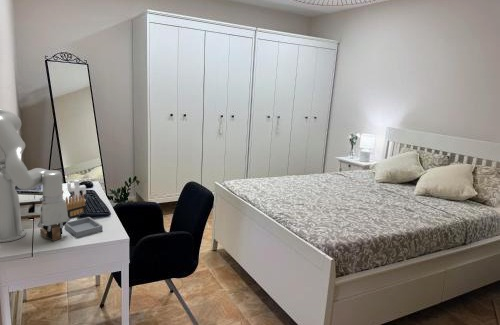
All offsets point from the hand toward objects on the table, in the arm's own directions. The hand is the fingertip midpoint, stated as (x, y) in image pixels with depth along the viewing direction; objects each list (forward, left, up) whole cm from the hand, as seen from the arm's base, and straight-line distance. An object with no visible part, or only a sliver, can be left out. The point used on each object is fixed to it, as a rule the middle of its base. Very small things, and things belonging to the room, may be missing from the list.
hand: (54, 236), depth 157 cm
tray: (+13, +1, -1) cm, 13 cm away
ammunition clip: (+17, +20, -1) cm, 26 cm away
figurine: (+24, +35, -1) cm, 43 cm away
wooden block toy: (0, +3, -1) cm, 3 cm away
